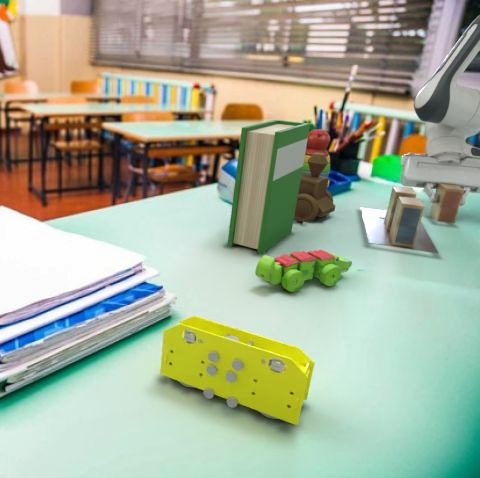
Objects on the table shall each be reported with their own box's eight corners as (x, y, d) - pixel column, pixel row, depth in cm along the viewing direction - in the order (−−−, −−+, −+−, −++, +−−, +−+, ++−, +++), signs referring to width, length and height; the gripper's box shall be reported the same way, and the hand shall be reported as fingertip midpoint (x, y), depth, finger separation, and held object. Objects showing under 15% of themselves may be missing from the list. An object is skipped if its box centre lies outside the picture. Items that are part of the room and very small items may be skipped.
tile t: (409, 238, 107) (419, 198, 104) (413, 248, 102) (424, 206, 98) (388, 235, 108) (398, 196, 105) (391, 244, 103) (402, 203, 100)
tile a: (402, 224, 116) (412, 187, 113) (406, 233, 110) (416, 194, 107) (384, 222, 117) (392, 185, 114) (386, 230, 112) (396, 192, 108)
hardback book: (261, 254, 97) (280, 132, 89) (227, 245, 101) (241, 127, 93) (291, 232, 111) (310, 123, 102) (260, 224, 115) (275, 119, 106)
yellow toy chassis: (158, 381, 59) (162, 321, 56) (177, 358, 63) (182, 301, 60) (295, 434, 51) (309, 367, 48) (305, 403, 56) (319, 341, 53)
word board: (415, 217, 124) (416, 214, 124) (438, 256, 100) (439, 252, 100) (359, 210, 129) (360, 206, 128) (367, 246, 104) (368, 242, 104)
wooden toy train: (240, 208, 126) (248, 143, 120) (261, 200, 134) (270, 138, 128) (316, 228, 114) (330, 156, 108) (335, 217, 121) (349, 150, 115)
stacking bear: (294, 183, 153) (304, 125, 146) (328, 188, 148) (340, 129, 142) (285, 190, 144) (295, 129, 138) (321, 196, 139) (334, 133, 133)
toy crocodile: (330, 267, 93) (337, 237, 91) (358, 282, 87) (365, 250, 85) (242, 280, 86) (247, 248, 84) (265, 298, 80) (271, 264, 78)
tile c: (446, 218, 125) (456, 183, 121) (454, 226, 119) (464, 190, 116) (428, 216, 126) (438, 182, 122) (435, 223, 120) (445, 188, 117)
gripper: (404, 145, 125) (404, 192, 120) (497, 152, 120) (501, 201, 115) (396, 159, 131) (396, 204, 126) (484, 166, 126) (487, 214, 120)
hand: (447, 203), depth 120 cm, fingers open, 4 cm apart
